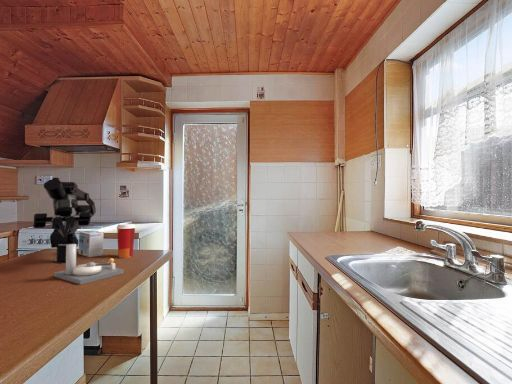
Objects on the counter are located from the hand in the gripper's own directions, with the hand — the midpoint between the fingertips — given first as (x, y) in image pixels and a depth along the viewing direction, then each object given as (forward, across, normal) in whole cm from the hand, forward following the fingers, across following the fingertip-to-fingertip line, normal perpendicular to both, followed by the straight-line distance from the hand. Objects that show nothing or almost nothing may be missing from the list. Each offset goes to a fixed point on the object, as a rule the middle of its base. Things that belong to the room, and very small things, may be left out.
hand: (65, 236), depth 112 cm
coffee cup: (+1, +25, +18) cm, 31 cm away
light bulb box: (-9, +14, +28) cm, 32 cm away
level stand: (+17, +6, +1) cm, 18 cm away
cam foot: (+18, +6, -2) cm, 19 cm away
